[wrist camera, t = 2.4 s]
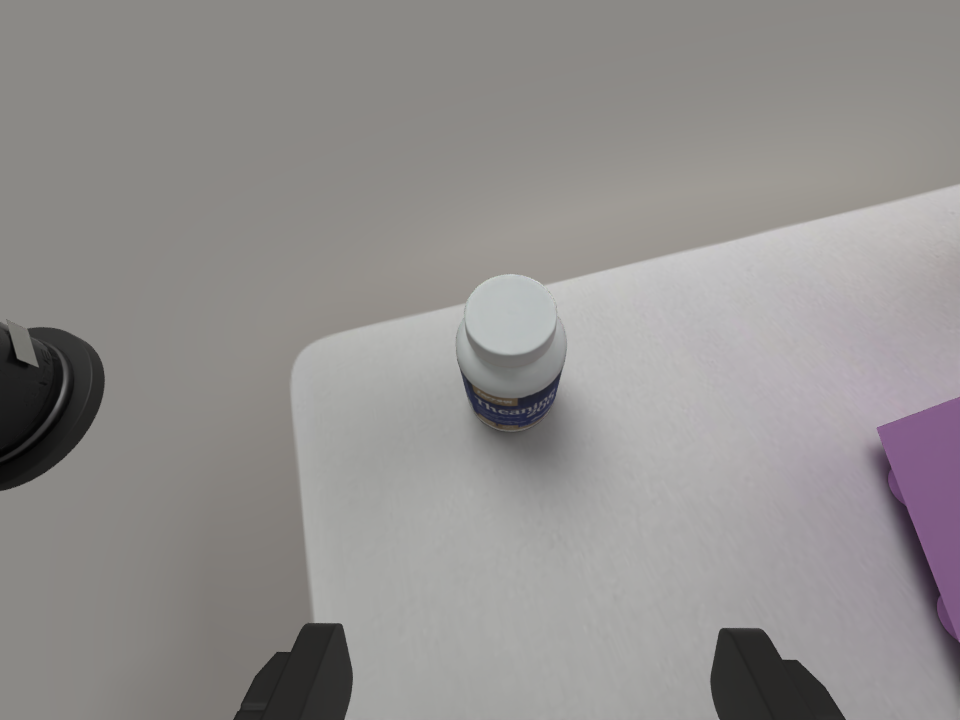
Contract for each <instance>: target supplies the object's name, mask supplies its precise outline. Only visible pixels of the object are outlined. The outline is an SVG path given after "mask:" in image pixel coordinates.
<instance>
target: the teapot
mask: <svg viewBox="0 0 960 720" xmlns="http://www.w3.org/2000/svg"><path fill="white" fill-rule="evenodd" d="M877 431H878V433H879V436H880V439H881V441H882V444H883V446H884V449H885V452H886V454H887V457H888V459H889V462H890V465H891V467H892V469H891V470H890V472H889V475H888V483H889V487H890V489H891V491H892V493H893V494H894V496H895V497H896V498H897V499H898V500H899V501H900V502H901V503H903V504H904V505H906V506H907V509H908V511H909V514H910V517H911V519H912V522H913V524H914V527H915V529H916V532H917V535H918V537H919V540H920V542H921V545H922V548H923V550H924V553H925V555H926V558H927V560H928V563H929V566H930V568H931V571H932V573H933V576H934V579H935V581H936V584H937V586H938V589H939V591H940V594H941V595H940V596H939V598H938V601H937V612H938V616H939V619H940V621H941V623H942V624H943V626H944V628H945V629H946V630H947V631H948V632H949V634H950V635H952V636H953V637H954V638H955V639H956V640H958V641H959V643H960V397H958V398H955V399H953V400H950V401H947V402H945V403H942V404H939V405H937V406H934V407H931V408H929V409H926V410H923V411H921V412H918V413H915V414H912V415H910V416H907V417H904V418H902V419H899V420H896V421H894V422H891V423H888V424H886V425H883V426H880V427H878V428H877Z"/></svg>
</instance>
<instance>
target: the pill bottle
mask: <svg viewBox="0 0 960 720" xmlns="http://www.w3.org/2000/svg"><path fill="white" fill-rule="evenodd" d="M566 351H567V338H566V333H565V329H564V326H563V324H562V322H561V320H560V318H559V317H558V316H557V307H556V304H555V301H554V299H553V297H552V295H551V294H550V292H549V291H548V290H547V289H546V288H545V287H544V286H543V285H542V284H541V283H539V282H538V281H536V280H534V279H532V278H529V277H526V276H522V275H517V274H507V275H499V276H496V277H493V278H491V279H488V280H487V281H485V282H483V283H482V284H480V285H479V286H478V287H477V288H476V289H475V290H474V291H473V292H472V294H471V295H470V297H469V298H468V300H467V303H466V306H465V311H464V318H463V320H462V322H461V324H460V326H459V328H458V332H457V336H456V355H457V361H458V364H459V367H460V370H461V374H462V378H463V382H464V386H465V389H466V393H467V397H468V400H469V403H470V405H471V407H472V409H473V411H474V413H475V414H476V415H477V417H478V418H479V419H480V420H481V421H482V422H484V423H485V424H487V425H488V426H490V427H492V428H494V429H497V430H501V431H509V432H515V431H522V430H525V429H528V428H531V427H532V426H534V425H536V424H537V423H539V422H540V421H541V420H542V419H543V418H544V417H545V416H546V415H547V414H548V412H549V410H550V409H551V407H552V404H553V402H554V399H555V396H556V392H557V388H558V384H559V380H560V377H561V373H562V369H563V365H564V362H565V357H566Z"/></svg>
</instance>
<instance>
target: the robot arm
mask: <svg viewBox="0 0 960 720" xmlns="http://www.w3.org/2000/svg"><path fill="white" fill-rule="evenodd" d="M7 323H8V326H7V325H5V324H3V323H1V322H0V466H1V465H4V464H6V463H9V462H11V461H13V460H15V459H17V458H18V457H20V456H22V455H23V454H25V453H26V452H28V451H29V450H31V449H32V448H33V447H35V446H36V445H37V444H38V443H39V442H40V441H41V440H43V439H44V438H45V437H46V436H47V434H48V433H49V432H50V431H51V430H52V429H53V428H54V426H55V425H56V424H57V422H58V421H59V419H60V418H61V416H62V415H63V413H64V411H65V409H66V407H67V405H68V402H69V400H70V397H71V393H72V389H73V381H74V377H73V369H72V365H71V363H70V360H69V359H68V357H67V356H66V354H65V353H64V352H63V351H62V350H60V349H59V348H57V347H56V346H54V345H51V344H49V343H47V342H45V341H43V340H40V339H35V338H33V337H31V336H29V333H28V330H27V329H26V328H23V327H21V326H19V325H17V324H15V323H13V322H11V321H9V320H7ZM352 682H353V672H352V666H351V661H350V657H349V652H348V647H347V643H346V638H345V633H344V629H343V626H342V624H340V623H308V624H305V625H304V626H303V628H302V629H301V631H300V633H299V635H298V637H297V639H296V641H295V644H294V646H293V648H292V650H291V652H277V653H276V654H275V655H274V656H273V657H272V658H271V659H270V660H269V661H268V663H267V664H266V665H265V666H264V667H263V668H262V669H261V670H260V671H259V673H258V674H257V675H256V676H255V678H254V680H253V682H252V684H251V686H250V688H249V690H248V692H247V694H246V696H245V698H244V700H243V702H242V703H241V708H240V710H239V711H238V712H237V714H236V715H235V718H234V719H233V720H344V719H345V715H346V712H347V709H348V705H349V702H350V697H351V691H352ZM710 682H711V692H712V697H713V702H714V705H715V709H716V712H717V714H718V717H719V719H720V720H846V719H845V718H844V716H843V714H842V713H841V711H840V710H839V708H838V707H837V705H836V703H835V702H834V700H833V699H832V697H831V696H830V694H829V692H828V691H827V689H826V688H825V687H824V686H823V685H822V684H821V683H820V682H819V681H818V680H817V679H816V678H815V677H814V676H813V675H812V674H811V673H810V672H809V671H808V670H807V669H806V668H805V667H804V666H803V665H802V664H801V663H800V662H799V661H797V660H782V659H781V657H780V655H779V653H778V652H777V650H776V648H775V647H774V645H773V643H772V641H771V640H770V638H769V637H768V635H767V634H766V633H765V632H764V631H763V630H762V629H759V628H722V629H721V630H720V631H719V635H718V640H717V645H716V651H715V656H714V661H713V666H712V671H711V679H710Z"/></svg>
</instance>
